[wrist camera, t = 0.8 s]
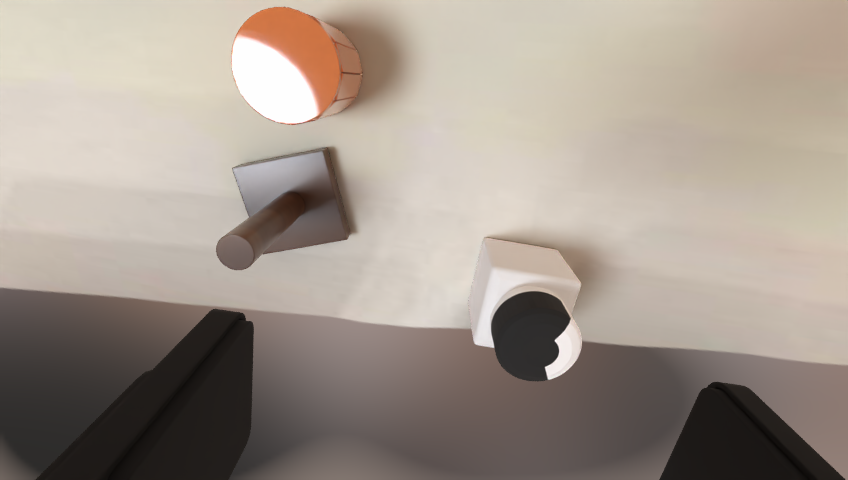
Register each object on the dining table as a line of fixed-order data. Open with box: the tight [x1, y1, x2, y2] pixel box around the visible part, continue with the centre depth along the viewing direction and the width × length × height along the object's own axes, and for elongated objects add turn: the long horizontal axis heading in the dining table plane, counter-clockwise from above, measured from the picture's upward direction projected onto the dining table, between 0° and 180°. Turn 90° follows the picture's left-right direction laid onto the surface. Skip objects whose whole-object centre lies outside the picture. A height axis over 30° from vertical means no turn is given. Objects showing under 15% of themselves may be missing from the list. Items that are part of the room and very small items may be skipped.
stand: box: [216, 148, 350, 270], centre depth 33 cm, size 8×8×13 cm
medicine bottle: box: [468, 238, 582, 381], centre depth 35 cm, size 7×7×12 cm
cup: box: [231, 7, 363, 125], centre depth 31 cm, size 7×7×8 cm
